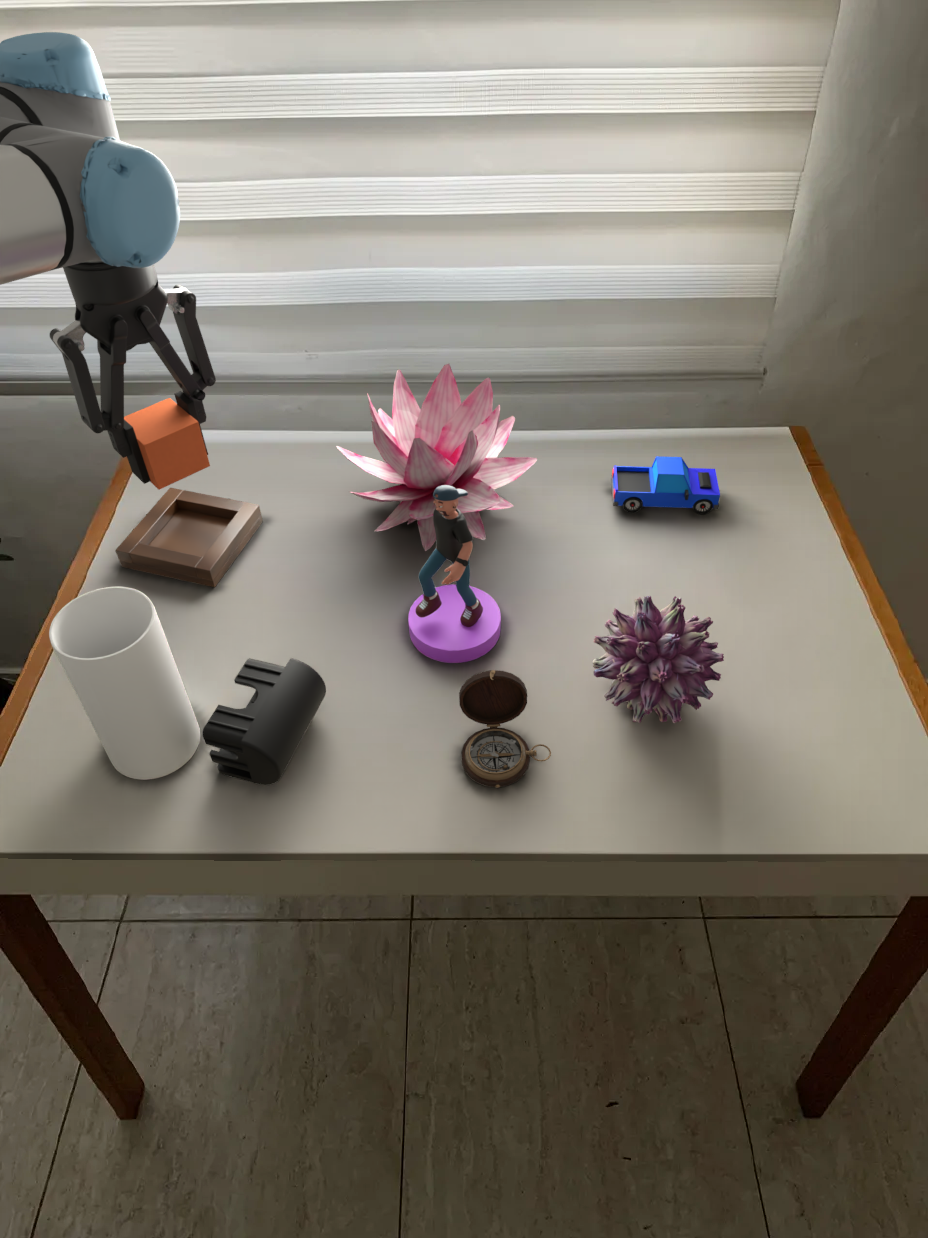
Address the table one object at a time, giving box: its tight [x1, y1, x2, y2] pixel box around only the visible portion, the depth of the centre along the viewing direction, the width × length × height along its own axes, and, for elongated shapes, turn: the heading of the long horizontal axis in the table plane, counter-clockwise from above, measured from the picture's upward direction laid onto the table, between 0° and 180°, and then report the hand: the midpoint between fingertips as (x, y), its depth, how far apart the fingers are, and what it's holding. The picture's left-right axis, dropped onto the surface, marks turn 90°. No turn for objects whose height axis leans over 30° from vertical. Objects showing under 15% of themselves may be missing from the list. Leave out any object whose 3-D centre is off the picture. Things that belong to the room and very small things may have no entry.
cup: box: [48, 586, 201, 781], centre depth 78 cm, size 8×8×16 cm
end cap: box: [202, 657, 327, 786], centre depth 81 cm, size 10×7×7 cm
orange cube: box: [124, 397, 211, 490], centre depth 94 cm, size 6×6×6 cm
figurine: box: [407, 485, 502, 664], centre depth 87 cm, size 9×9×18 cm
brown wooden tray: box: [115, 487, 264, 588], centre depth 102 cm, size 12×12×2 cm
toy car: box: [610, 455, 721, 516], centre depth 105 cm, size 7×12×5 cm, turn 86°
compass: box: [458, 669, 552, 789], centre depth 80 cm, size 8×8×7 cm
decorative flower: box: [335, 363, 538, 552], centre depth 101 cm, size 21×21×15 cm
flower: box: [592, 595, 725, 724], centre depth 82 cm, size 12×12×12 cm
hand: (170, 462), depth 95 cm, fingers closed on orange cube, 6 cm apart
